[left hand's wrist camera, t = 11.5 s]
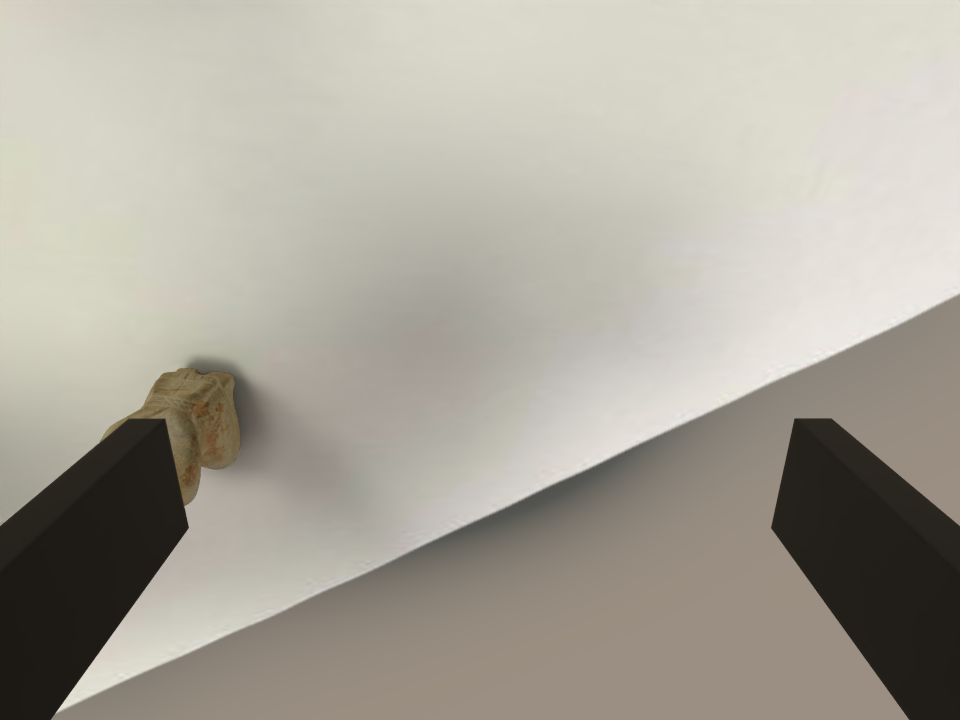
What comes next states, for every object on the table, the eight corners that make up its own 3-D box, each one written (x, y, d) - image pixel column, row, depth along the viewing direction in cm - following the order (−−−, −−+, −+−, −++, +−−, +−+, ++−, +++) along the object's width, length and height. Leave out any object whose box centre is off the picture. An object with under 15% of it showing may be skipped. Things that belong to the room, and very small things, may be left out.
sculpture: (167, 446, 41) (8, 610, 27) (166, 349, 39) (-10, 476, 25) (253, 459, 42) (138, 627, 28) (257, 364, 39) (134, 498, 25)
